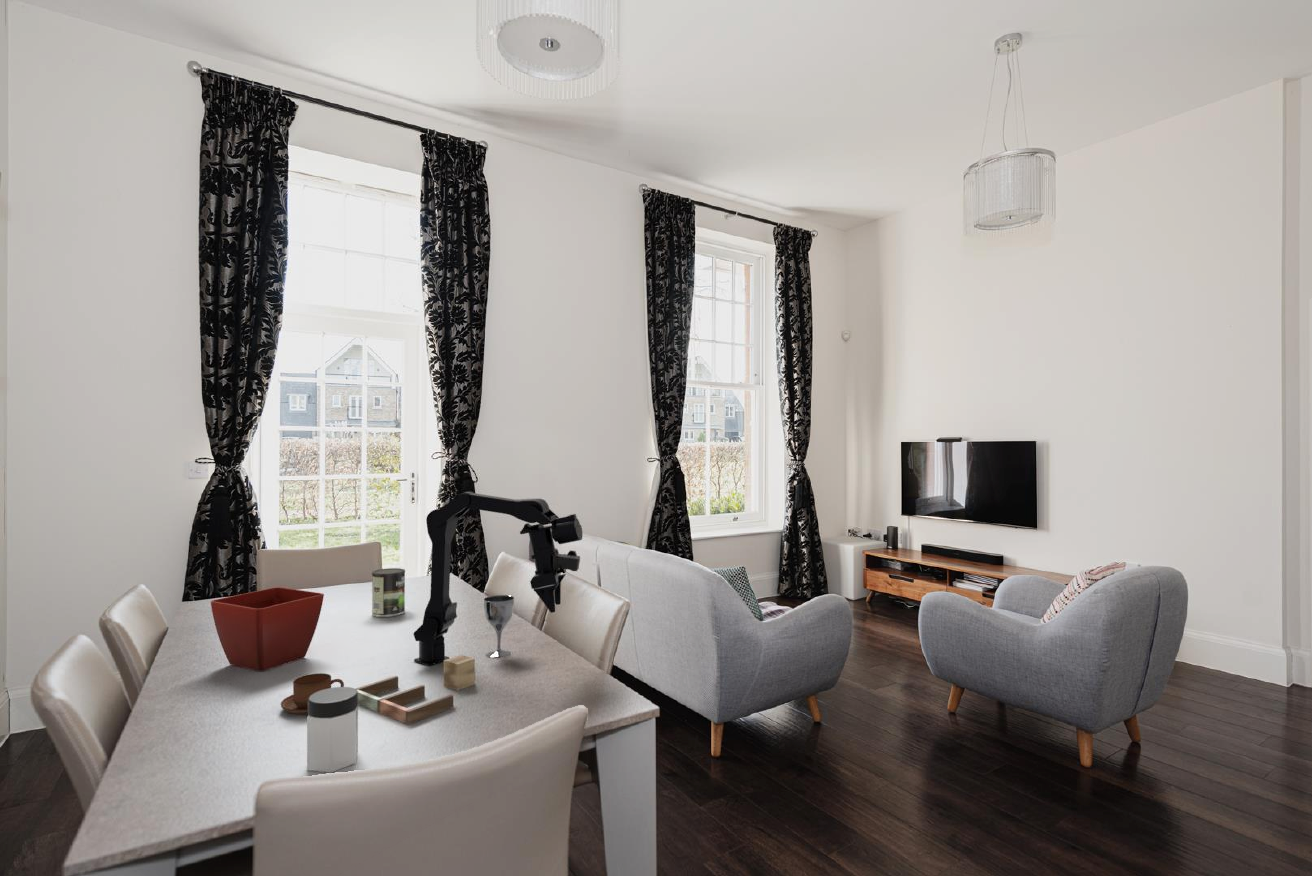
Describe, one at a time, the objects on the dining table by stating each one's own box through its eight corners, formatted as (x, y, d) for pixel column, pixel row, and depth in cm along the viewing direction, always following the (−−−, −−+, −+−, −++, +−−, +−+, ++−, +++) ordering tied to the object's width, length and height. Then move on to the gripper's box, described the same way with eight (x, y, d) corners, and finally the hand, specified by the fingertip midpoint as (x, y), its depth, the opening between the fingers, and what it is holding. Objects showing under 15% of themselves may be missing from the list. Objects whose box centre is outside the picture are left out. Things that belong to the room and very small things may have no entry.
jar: (347, 746, 128) (347, 682, 128) (368, 759, 123) (368, 693, 123) (297, 763, 122) (297, 696, 122) (317, 778, 116) (317, 707, 116)
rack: (351, 701, 150) (351, 690, 150) (395, 686, 159) (395, 675, 159) (408, 724, 138) (408, 712, 138) (453, 707, 147) (453, 695, 147)
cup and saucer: (327, 693, 156) (327, 666, 156) (353, 706, 148) (353, 677, 148) (271, 709, 147) (271, 680, 147) (295, 724, 139) (295, 693, 139)
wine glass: (519, 651, 186) (519, 596, 186) (503, 660, 179) (504, 602, 179) (494, 648, 189) (494, 594, 189) (477, 656, 181) (477, 600, 181)
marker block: (443, 685, 160) (443, 660, 160) (461, 679, 164) (461, 654, 164) (457, 690, 157) (457, 664, 157) (474, 684, 161) (474, 658, 161)
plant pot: (326, 656, 182) (326, 592, 182) (258, 678, 165) (258, 608, 165) (277, 646, 190) (277, 586, 190) (208, 667, 173) (208, 601, 173)
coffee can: (409, 609, 232) (409, 568, 232) (397, 617, 222) (397, 573, 222) (379, 609, 232) (379, 567, 232) (366, 617, 222) (366, 573, 222)
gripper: (569, 545, 165) (582, 609, 164) (578, 537, 183) (590, 594, 183) (524, 555, 165) (537, 619, 164) (537, 545, 183) (549, 603, 183)
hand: (555, 608), depth 173 cm, fingers open, 9 cm apart
